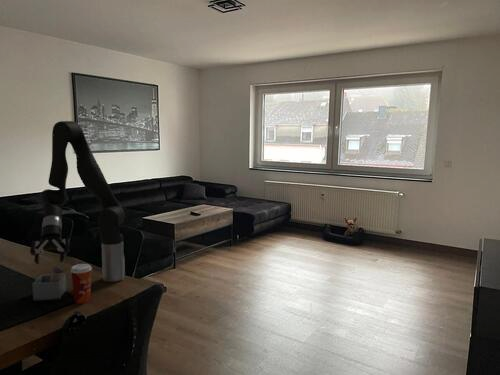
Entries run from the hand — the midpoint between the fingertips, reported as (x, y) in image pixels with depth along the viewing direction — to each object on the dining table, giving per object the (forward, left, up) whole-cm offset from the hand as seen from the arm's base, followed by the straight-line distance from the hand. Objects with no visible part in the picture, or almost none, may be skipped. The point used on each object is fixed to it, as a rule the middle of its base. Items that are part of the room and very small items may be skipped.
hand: (49, 262), depth 149 cm
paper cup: (-14, +9, -13) cm, 21 cm away
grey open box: (0, +2, -13) cm, 13 cm away
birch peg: (0, +2, -12) cm, 12 cm away
